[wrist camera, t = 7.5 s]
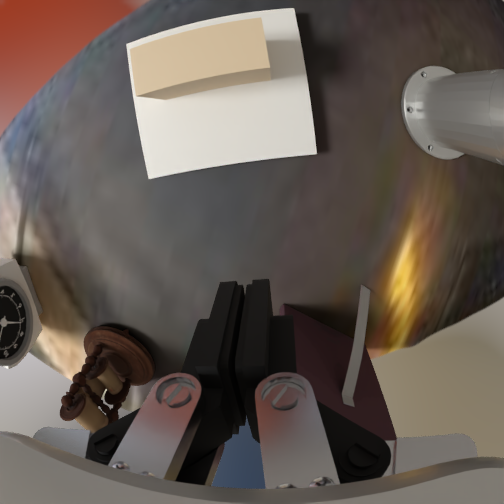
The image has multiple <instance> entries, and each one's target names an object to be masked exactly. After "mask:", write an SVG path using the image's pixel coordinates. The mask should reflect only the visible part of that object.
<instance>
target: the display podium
mask: <svg viewBox="0 0 504 504" xmlns="http://www.w3.org/2000/svg"><path fill="white" fill-rule="evenodd" d="M260 17H261V18H262V24H263V29H264V35H265V40H266V46H267V52H268V58H269V64H270V78H271V80H270V81H262V82H254V83H247V84H240V85H234V86H228V87H223V88H217V89H212V90H207V91H202V92H197V93H193V94H188V95H184V96H180V97H176V98H172V99H168V100H161V99H154V98H146V97H137V96H136V93H135V86H134V79H133V72H132V64H131V55H130V49H131V48H134V47H137V46H140V45H142V44H145V43H148V42H151V41H154V40H158V39H161V38H164V37H167V36H171V35H174V34H178V33H182V32H185V31H189V30H193V29H198V28H202V27H206V26H211V25H216V24H221V23H227V22H232V21H238V20H245V19H252V18H260ZM127 53H128V61H129V69H130V77H131V84H132V91H133V98H134V104H135V110H136V116H137V122H138V127H139V133H140V138H141V143H142V149H143V154H144V158H145V163H146V168H147V173H148V177H149V179H152V178H156V177H161V176H166V175H171V174H176V173H181V172H187V171H192V170H198V169H204V168H210V167H216V166H222V165H228V164H235V163H242V162H249V161H257V160H265V159H273V158H282V157H292V156H302V155H313V154H317V150H316V141H315V132H314V124H313V116H312V109H311V101H310V94H309V88H308V81H307V75H306V69H305V63H304V57H303V51H302V46H301V41H300V35H299V30H298V25H297V20H296V16H295V11H294V8H289V9H276V10H266V11H257V12H249V13H242V14H236V15H230V16H225V17H219V18H214V19H210V20H205V21H201V22H196V23H192V24H188V25H184V26H181V27H177V28H174V29H170V30H167V31H163V32H160V33H157V34H154V35H151V36H148V37H145V38H142V39H139V40H137V41H134V42H131V43H129V44H127Z"/></svg>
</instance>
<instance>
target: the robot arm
mask: <svg viewBox="0 0 504 504" xmlns="http://www.w3.org/2000/svg"><path fill="white" fill-rule="evenodd" d="M421 74H422V76H421ZM401 107H402V115H403V120H404V123H405V126H406V128H407V131H408V132H409V134H410V136H411V138H412V139H413V140H414V142H415V143H416V144H417V145H418V146H419V147H420V148H421V149H422V150H423V151H424V152H426V153H428V154H429V155H431V156H434V157H437V158H440V159H455V158H458V157H460V156H462V155H463V154H468V155H472V156H475V157H478V158H481V159H484V160H488V161H491V162H494V163H496V164H499V165H502V166H504V69H497V70H485V71H475V72H467V73H459V74H456V73H454V72H453V71H451V70H449V69H447V68H444V67H440V66H428V67H424V68H421V69H419V70H417V71H416V72H414V73H413V74H412V75H411V76H410V77H409V79H408V80H407V82H406V84H405V86H404V89H403V93H402V100H401ZM407 108H408V111H407ZM428 146H429V148H428ZM246 415H247V419H248V422H249V426H250V429H251V433H252V436H253V438H254V439H255V440H256V441H257V442H258V443H260V445H261V453H262V461H263V469H264V477H265V485H266V489H241V488H224V487H214V486H211V485H212V482H213V479H214V477H215V473H216V471H217V468H218V465H219V462H220V459H221V456H222V453H223V450H224V445H225V444H224V442H226V441H227V440H229V439H230V438H232V434H238V433H239V426H245V422H246ZM0 504H504V458H499V457H477V449H476V446H475V442H474V441H473V440H472V439H471V438H470V437H469V436H467V435H465V434H448V435H438V436H425V437H406V438H405V437H404V438H397V439H396V440H395V441H384V440H383V439H382V438H380V437H379V436H377V435H375V434H374V433H372V432H370V431H368V430H366V429H365V428H363V427H361V426H359V425H358V424H356V423H354V422H352V421H351V420H349V419H347V418H345V417H344V416H342V415H340V414H339V413H337V412H335V411H334V410H332V409H330V408H329V407H327V406H326V405H324V404H322V403H321V402H319V401H318V400H316V399H315V396H314V392H313V389H312V386H311V385H310V383H309V381H308V380H306V379H305V378H304V377H303V376H301V375H298V374H297V367H296V351H295V336H294V321H293V315H281V316H273V311H272V302H271V292H270V283H269V279H261V280H253V282H252V284H248V285H247V287H246V294H244V288H243V285H238V284H237V282H236V281H231V282H220V285H219V288H218V291H217V294H216V298H215V301H214V304H213V307H212V311H211V314H210V317H209V319H200V320H199V321H198V324H197V326H196V329H195V332H194V335H193V338H192V341H191V344H190V347H189V350H188V353H187V356H186V359H185V362H184V365H183V368H182V371H181V373H174V374H170V375H167V376H165V377H163V378H161V379H160V380H159V381H157V382H156V384H155V385H154V386H153V388H152V389H151V391H150V393H149V394H148V396H147V398H146V400H145V401H144V403H143V405H142V407H141V408H139V409H137V410H136V411H134V412H132V413H130V414H128V415H126V416H124V417H122V418H120V419H118V420H116V421H115V422H113V423H111V424H109V425H107V426H105V427H103V428H101V429H99V430H97V431H96V432H95V433H92V432H91V430H78V429H63V428H52V427H45V428H42V429H40V430H38V431H37V432H36V433H35V435H34V437H33V438H31V437H28V436H25V435H22V434H19V433H14V432H2V431H0Z"/></svg>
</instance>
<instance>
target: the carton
mask: <svg viewBox="0 0 504 504" xmlns="http://www.w3.org/2000/svg"><path fill="white" fill-rule="evenodd" d="M130 55H131V64H132V72H133V79H134V86H135V93H136V96H137V97H146V98H154V99H161V100H168V99H172V98H176V97H180V96H184V95H188V94H193V93H197V92H202V91H207V90H212V89H217V88H223V87H228V86H234V85H240V84H247V83H254V82H262V81H270V80H271V78H270V64H269V58H268V52H267V46H266V40H265V35H264V29H263V24H262V18H261V17H260V18H252V19H245V20H238V21H232V22H227V23H221V24H216V25H211V26H206V27H202V28H198V29H193V30H189V31H185V32H182V33H178V34H174V35H171V36H167V37H164V38H161V39H158V40H154V41H151V42H148V43H145V44H142V45H140V46H137V47H134V48H131V49H130Z"/></svg>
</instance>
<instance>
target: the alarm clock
mask: <svg viewBox="0 0 504 504" xmlns="http://www.w3.org/2000/svg"><path fill="white" fill-rule="evenodd" d="M42 312H43V310H42V307H41V305H40V302H39V300H38V297H37V295H36V292H35V289H34V287H33V284H32V281H31V278H30V275H29V272H28V269H27V266H19V265H18V263H17V261H16V259H8V258H0V366H3V367H6V368H8V369H10V368H12V367H14V366H16V365H17V364H18V363H19V362H20V361H21V360H22V359H23V358H24V357H25V356H26V354H27V353H28V352H29V350H30V349H31V347H32V346H33V344H34V343H35V341H36V339H37V338H38V336H39V334H40V332H41V331H42V326H41V322H40V319H39V315H40V314H41V313H42Z"/></svg>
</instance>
